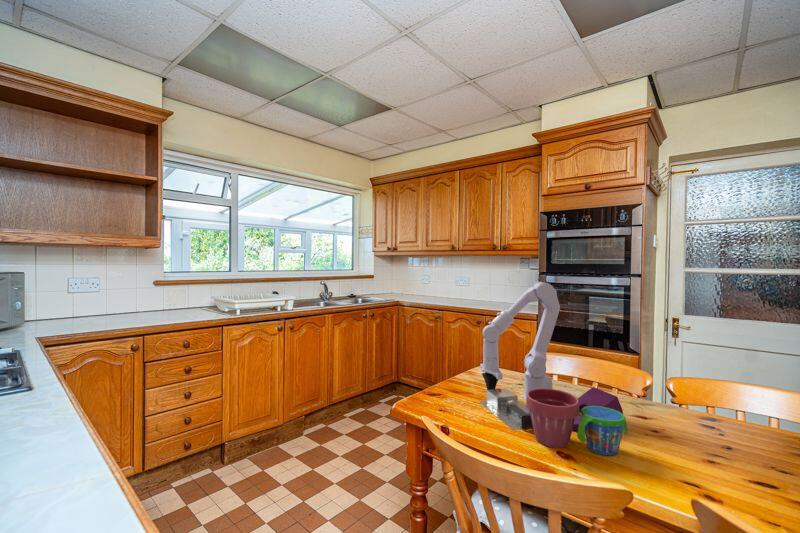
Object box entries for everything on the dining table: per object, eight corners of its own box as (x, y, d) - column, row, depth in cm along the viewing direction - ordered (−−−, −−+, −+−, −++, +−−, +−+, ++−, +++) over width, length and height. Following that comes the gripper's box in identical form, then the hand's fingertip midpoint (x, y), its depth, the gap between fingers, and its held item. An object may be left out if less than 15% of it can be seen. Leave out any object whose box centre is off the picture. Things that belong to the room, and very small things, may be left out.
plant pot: (589, 452, 99) (589, 405, 99) (537, 453, 99) (537, 406, 99) (564, 428, 113) (564, 387, 113) (519, 429, 113) (519, 388, 113)
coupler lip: (512, 398, 139) (512, 387, 139) (553, 426, 115) (552, 412, 115) (478, 402, 136) (478, 390, 136) (512, 431, 112) (512, 417, 112)
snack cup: (611, 437, 108) (611, 402, 108) (642, 455, 97) (642, 417, 97) (565, 443, 104) (564, 408, 104) (592, 463, 94) (592, 423, 94)
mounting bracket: (584, 452, 111) (626, 419, 116) (574, 428, 110) (617, 396, 115) (562, 437, 120) (601, 408, 125) (553, 416, 119) (593, 386, 124)
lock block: (506, 399, 138) (506, 386, 138) (517, 407, 130) (517, 393, 130) (486, 401, 136) (486, 388, 136) (497, 409, 128) (497, 395, 128)
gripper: (473, 353, 147) (473, 387, 147) (489, 362, 133) (490, 400, 133) (489, 352, 149) (489, 385, 149) (507, 361, 135) (507, 398, 135)
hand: (491, 392), depth 141 cm, fingers closed
